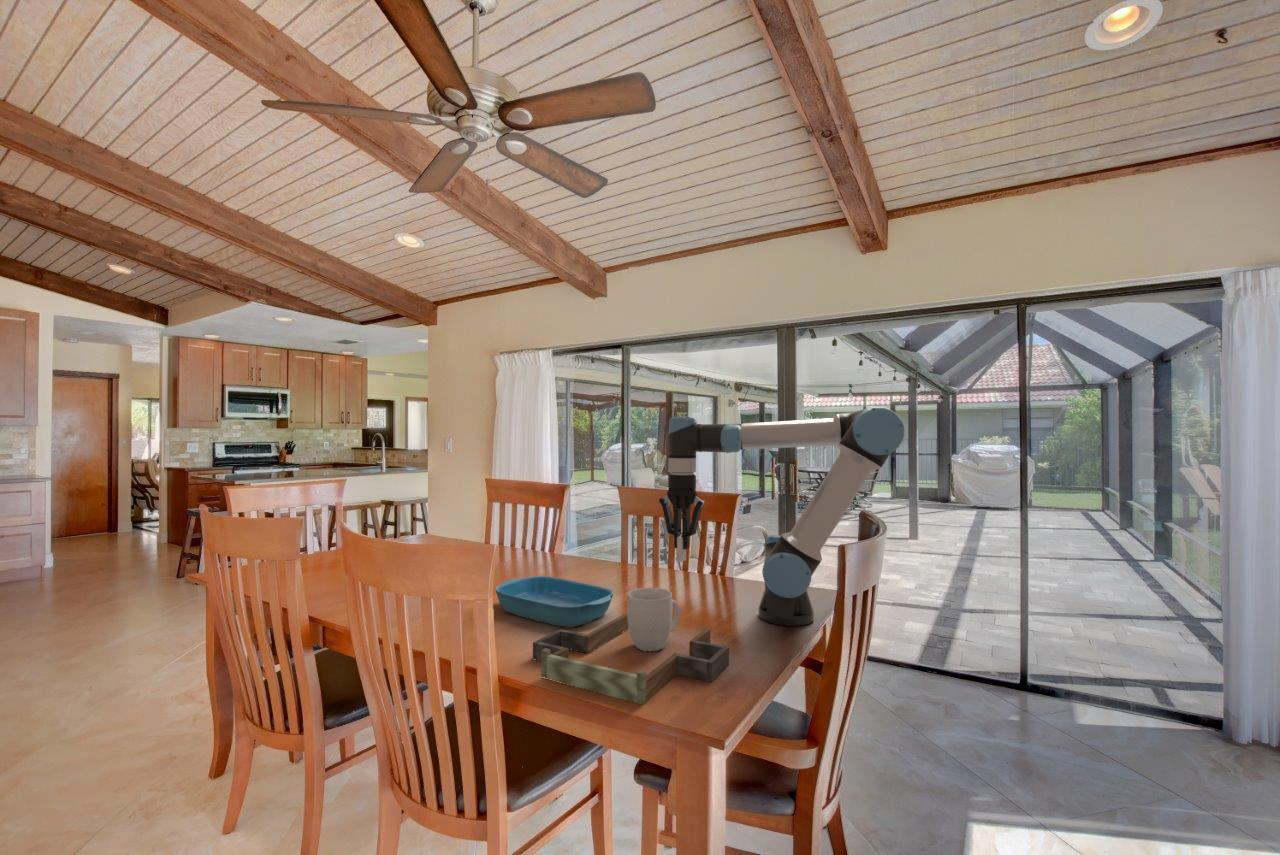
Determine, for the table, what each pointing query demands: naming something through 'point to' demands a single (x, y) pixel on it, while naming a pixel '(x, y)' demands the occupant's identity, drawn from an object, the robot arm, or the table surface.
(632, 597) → the mug
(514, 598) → the casserole dish
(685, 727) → the table surface
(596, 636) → the channel
